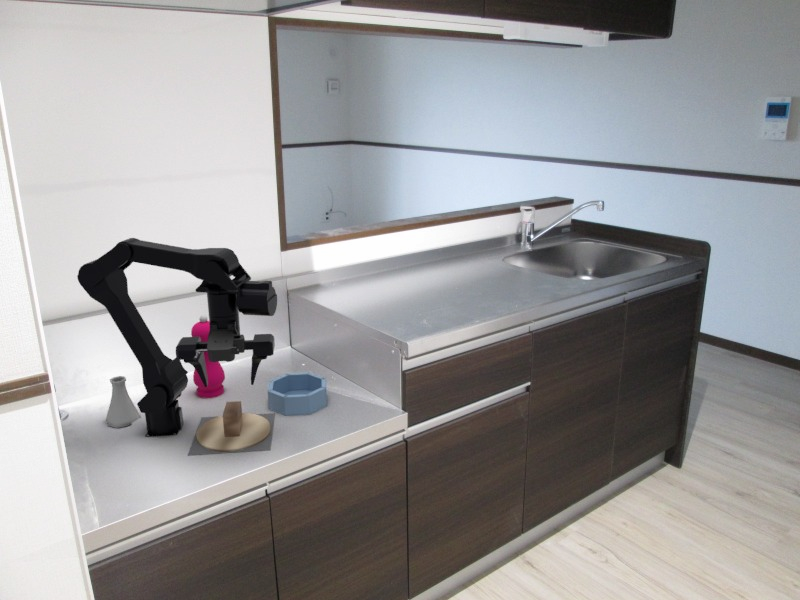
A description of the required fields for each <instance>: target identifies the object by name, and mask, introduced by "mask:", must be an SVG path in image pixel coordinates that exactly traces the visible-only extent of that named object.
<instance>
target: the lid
mask: <svg viewBox="0 0 800 600" xmlns="http://www.w3.org/2000/svg"><path fill="white" fill-rule="evenodd" d="M256 414H257V413H251V412H250V413H249V412H243V409H242V401H241V400H238V401H237V400H236V401H226V403H225V406H224V410H223V413H222V415H219V417H216V416H215V417H216V418H214V419H211V420H209V421H207V422H206V423H204V424H203V425H202V426H201V427H200V428H199V429H198V431H197V430H196V431H197V441H198V443H199V444H200V445H201V446H202V447H204V448H206V449H209V450H213V451H221V452H228V451H237V450H243V449H246V448H250V447H252V446H255V445H257V444H259V443H260V442H262V441H263V440H265V439H266V438H267V437H268V435H269V434H270V423H269V421H268V420H267V419H266V418H264V417H262V416H259V415H256Z"/></svg>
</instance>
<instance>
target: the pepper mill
mask: <svg viewBox="0 0 800 600" xmlns="http://www.w3.org/2000/svg"><path fill="white" fill-rule="evenodd" d="M198 320H199V321H198V322H196V323H194V324H193V325H192V328H191V334H190V335H191V337H200V338H201V342H208V335H209V331H210V324H209V320H208V316H207V315H205V314H202V315H200V317H199V319H198ZM204 358H205V364H206V370H207V377H208V386H207V387H205V386H204V384H203V382H202V380H201V378H200V376H199V374H198V372H197V371H196V369H195V368H194V370H193V371H194V372H193V377H192V378H193V379H192V380H193V384H194V385H195V386H196V396H197V397H199V398H202V399H212V398H216V397H220V396H222V394H224V392H225V388H224V387H225V386H224V384H223V383H224V381H225V379H226V375H225V370H224V368H223V366H222V365H221V363H220V361H217V362H210V361H209V356H208V352H204Z"/></svg>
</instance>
